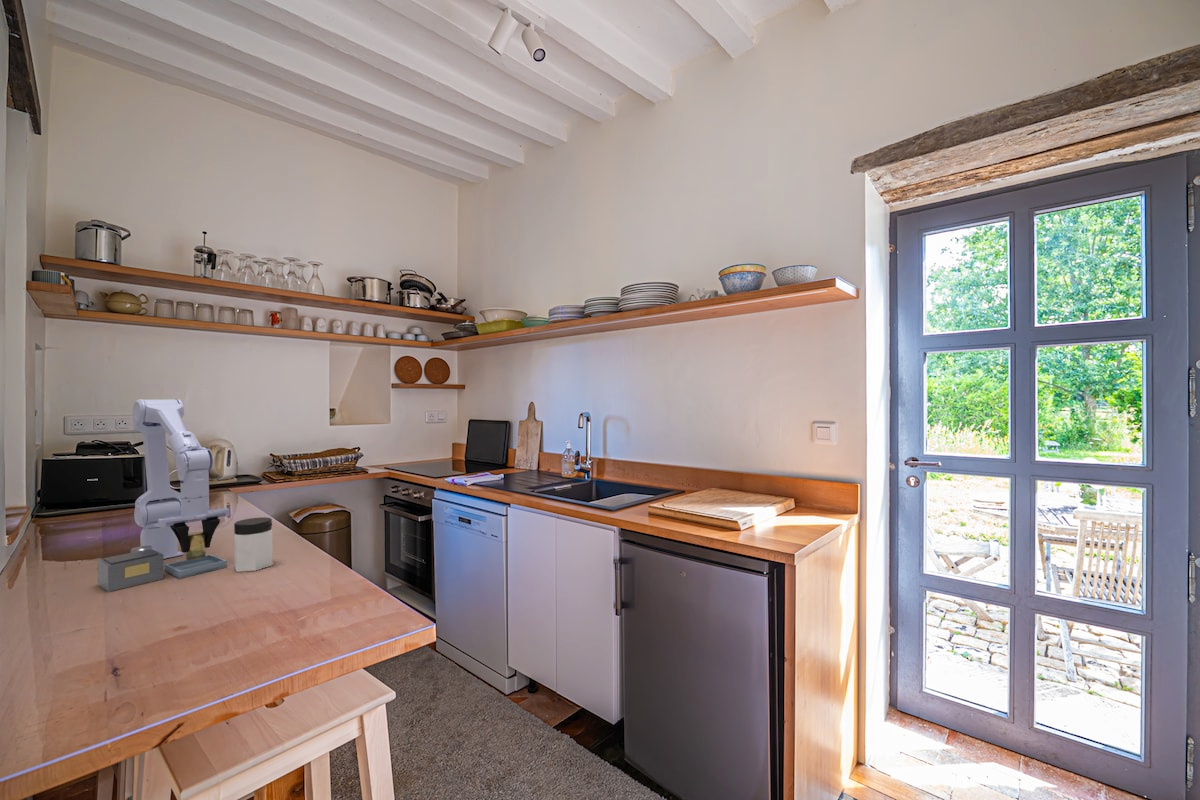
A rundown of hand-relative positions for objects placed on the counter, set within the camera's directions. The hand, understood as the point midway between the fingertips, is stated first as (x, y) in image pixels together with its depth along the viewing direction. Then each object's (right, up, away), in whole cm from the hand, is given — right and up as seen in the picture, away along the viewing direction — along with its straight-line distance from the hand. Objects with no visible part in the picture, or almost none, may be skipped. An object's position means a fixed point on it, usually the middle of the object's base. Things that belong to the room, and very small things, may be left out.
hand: (195, 549), depth 131 cm
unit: (-9, -5, -9) cm, 13 cm away
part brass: (0, -2, 0) cm, 2 cm away
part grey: (-13, -5, -1) cm, 14 cm away
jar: (+14, -5, +2) cm, 15 cm away
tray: (0, -5, 0) cm, 5 cm away
